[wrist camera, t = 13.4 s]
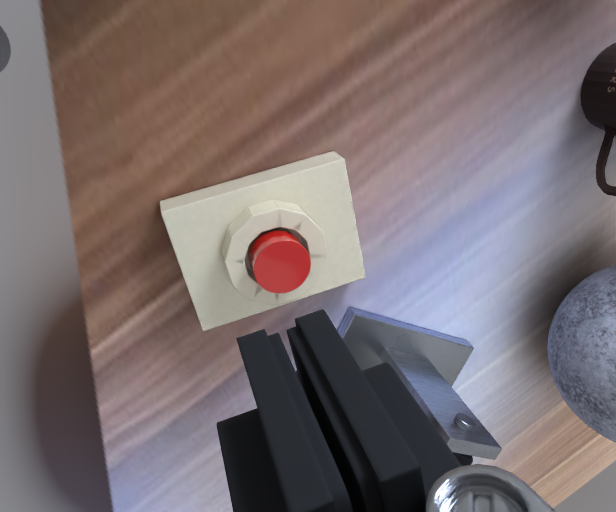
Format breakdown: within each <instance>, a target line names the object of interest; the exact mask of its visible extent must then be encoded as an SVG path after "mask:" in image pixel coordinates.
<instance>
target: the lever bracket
mask: <svg viewBox="0 0 616 512" xmlns="http://www.w3.org/2000/svg"><path fill="white" fill-rule="evenodd" d="M337 332H338V333H339V335H340V336H341V338H342V340H343V341H344V343H345V344H346V346H347V348H348V349H349V351H350V353H351V354H352V356H353V357H354V359H355V361H356V362H357V364H358V365H359V367H360V369H361V370H362V371H363V370H365V369H368V368H371V367H374V366H376V365H379V364H382V363H385V362H386V363H388V364H390V366H391V367H392V368H393V369H394V371H395V372H396V373H397V375H398V376H399V378H400V379H401V380H402V382H403V383H404V385H405V386H406V388H407V389H408V390H409V392H410V393H411V395H412V396H413V397H414V399H415V400H416V402H417V403H418V404H419V406H420V407H421V409H422V410H423V411H424V413H425V414H426V416H427V417H428V419H429V420H430V421H431V423H432V424H433V426H434V427H435V428H436V430H437V431H438V433H439V434H440V435H441V437H442V438H443V440H444V441H445V443H446V444H447V445H448V447H449V448H450V450H451V451H452V452H455V453H460V454H466V455H471V456H477V457H482V458H488V459H493V460H495V459H496V457H497V456H498V454H499V453H500V451H501V450H502V448H501V447H500V445H499V444H498V443H497V442H496V440H495V439H494V438H493V437H492V436H491V434H490V433H489V432H488V431H487V430H486V428H485V427H484V426H483V425H482V424H481V422H480V421H479V420H478V419H477V418H476V416H475V415H474V414H473V413H472V411H471V410H470V409H469V408H468V407H467V405H466V404H465V403H464V402H463V401H462V399H461V398H460V397H459V396H458V395H457V393H456V392H455V391H454V390H453V388H452V385H453V383H454V382H455V380H456V378H457V376H458V375H459V373H460V371H461V370H462V368H463V366H464V364H465V363H466V361H467V359H468V358H469V356H470V354H471V353H472V351H473V349H474V347H473V346H472V345H471V344H470V343H469V342H468V341H466V340H463V339H459V338H456V337H452V336H449V335H445V334H442V333H438V332H435V331H432V330H428V329H425V328H421V327H418V326H414V325H411V324H407V323H404V322H400V321H397V320H394V319H390V318H387V317H383V316H380V315H376V314H373V313H369V312H366V311H362V310H359V309H356V308H352V307H349V309H348V311H347V313H346V315H345V317H344V319H343V321H342V323H341V325H340V327H339V329H338V331H337Z"/></svg>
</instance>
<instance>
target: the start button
mask: <svg viewBox="0 0 616 512" xmlns="http://www.w3.org/2000/svg"><path fill="white" fill-rule="evenodd" d="M249 264H250V267H251V270H252V272H253V274H254V277H255V279H256V281H257V283H258V284H259V285H260V286H261V287H262V288H263V289H265V290H267V291H269V292H272V293H278V294H279V293H287V292H290V291H293V290H295V289H296V288H298V287H299V286H300V285H302V284H303V283H304V281H305V280H306V279H307V277H308V275H309V272H310V269H311V259H310V255H309V253H308V251H307V250H306V249H305V247H304V246H303V244H302V243H301V241H300V240H299V239H298V238H297V237H296V236H295V235H294V234H292V233H290V232H288V231H283V230H275V231H270V232H267V233H265V234H263V235H262V236H260V237H259V238H258V239H257V240H256V241H255V242H254V244H253V245H252V247H251V250H250V253H249Z"/></svg>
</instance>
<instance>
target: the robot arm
mask: <svg viewBox="0 0 616 512" xmlns="http://www.w3.org/2000/svg"><path fill="white" fill-rule="evenodd" d="M295 322H296V327H293V328H290V329H288V330H287V334H288V338H289V342H290V345H291V349H292V353H293V357H294V360H295V364H296V368H297V371H298V375H299V379H300V381H299V379H298V376H297V374H296V372H295V370H294V367H293V365H292V363H291V360H290V358H289V356H288V354H287V351H286V349H285V347H284V344H283V342H282V340H281V338H280V335H279V333H276V334H273V335H270V336H267V333H266V331H265V329H263V330H260V331H257V332H254V333H251V334H248V335H245V336H242V337H239V338H236V339H237V342H238V345H239V349H240V352H241V355H242V358H243V362H244V365H245V368H246V372H247V375H248V378H249V381H250V385H251V388H252V391H253V395H254V398H255V401H256V404H257V409H254V410H251V411H248V412H246V413H243V414H240V415H237V416H234V417H232V418H229V419H226V420H223V421H221V422H218V423H217V430H218V435H219V440H220V445H221V451H222V456H223V461H224V466H225V471H226V476H227V481H228V486H229V491H230V497H231V502H232V507H233V512H556V511H555V510H554V509H553V508H552V507H551V506H550V505H549V504H547V503H546V502H545V501H544V500H543V499H542V498H541V497H540V496H539V495H538V494H537V493H536V492H535V491H534V490H533V489H531V488H530V487H529V486H528V485H527V484H526V483H525V482H524V481H522V480H521V479H519V478H518V477H517V476H515V475H514V474H512V473H511V472H508V471H505V470H503V469H500V468H498V467H495V466H488V465H481V464H475V465H466V466H462V465H461V464H460V462H459V461H458V459H457V458H456V457H455V455H454V454H453V452H452V451H451V450H450V448H449V447H448V445H447V444H446V443H445V441H444V440H443V438H442V437H441V435H440V434H439V433H438V431H437V430H436V428H435V427H434V426H433V424H432V423H431V421H430V420H429V419H428V417H427V416H426V414H425V413H424V411H423V410H422V409H421V407H420V406H419V404H418V403H417V402H416V400H415V399H414V397H413V396H412V395H411V393H410V392H409V390H408V389H407V388H406V386H405V385H404V383H403V382H402V380H401V379H400V378H399V376H398V375H397V373H396V372H395V371H394V369H393V368H392V367H391V366H390V364H388V363H386V362H385V363H382V364H379V365H376V366H374V367H371V368H368V369H365V370H363V371H362V370H361V369H360V367H359V365H358V364H357V362H356V361H355V359H354V357H353V356H352V354H351V353H350V351H349V349H348V348H347V346H346V344H345V343H344V341H343V340H342V338H341V336H340V335H339V333H338V332H337V330H336V328H335V327H334V325H333V324H332V322H331V320H330V319H329V317H328V315H327V314H326V312H325V311H324V310H319V311H316V312H313V313H311V314H308V315H305V316H302V317H299V318H296V319H295ZM300 382H301V383H300Z"/></svg>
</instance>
